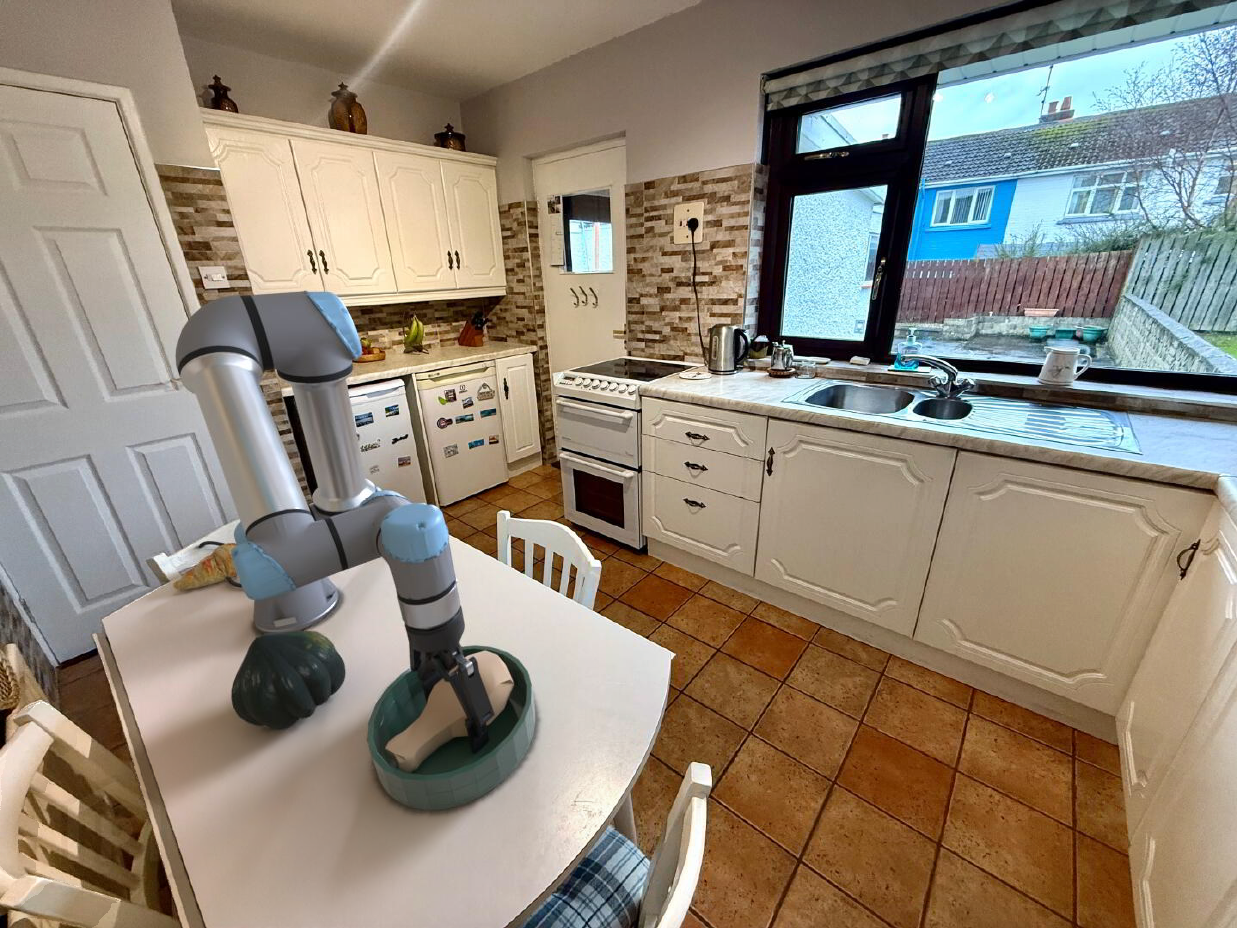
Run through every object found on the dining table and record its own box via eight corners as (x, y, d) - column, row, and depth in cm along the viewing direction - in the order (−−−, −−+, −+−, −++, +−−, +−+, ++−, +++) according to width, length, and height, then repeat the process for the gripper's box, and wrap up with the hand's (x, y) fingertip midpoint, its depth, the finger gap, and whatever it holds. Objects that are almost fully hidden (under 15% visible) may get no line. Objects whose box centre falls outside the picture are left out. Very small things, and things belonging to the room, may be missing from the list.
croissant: (187, 610, 109) (181, 590, 104) (164, 581, 112) (156, 560, 107) (286, 561, 125) (285, 542, 120) (264, 537, 128) (261, 517, 123)
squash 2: (530, 700, 80) (526, 669, 75) (421, 806, 67) (406, 777, 62) (490, 660, 85) (482, 629, 80) (381, 751, 73) (365, 721, 68)
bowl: (347, 745, 74) (336, 717, 71) (474, 651, 91) (469, 626, 88) (436, 849, 60) (427, 819, 58) (566, 716, 77) (563, 689, 75)
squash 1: (359, 686, 77) (318, 603, 79) (249, 753, 68) (205, 656, 70) (353, 690, 88) (317, 617, 90) (257, 748, 79) (219, 665, 80)
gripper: (509, 631, 63) (526, 748, 71) (412, 570, 76) (437, 676, 84) (460, 667, 57) (485, 790, 66) (365, 595, 70) (396, 705, 79)
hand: (458, 726), depth 75 cm, fingers open, 10 cm apart
